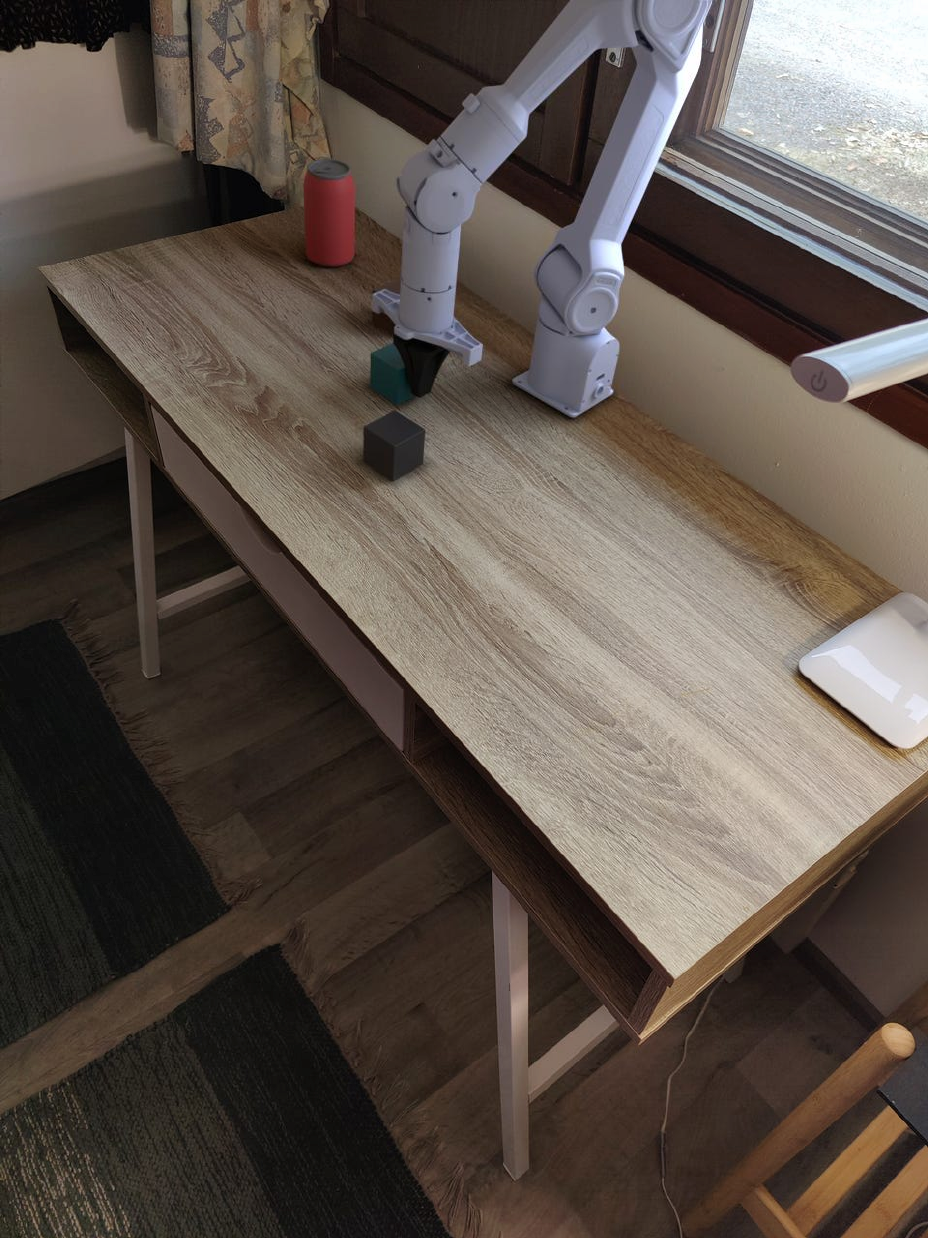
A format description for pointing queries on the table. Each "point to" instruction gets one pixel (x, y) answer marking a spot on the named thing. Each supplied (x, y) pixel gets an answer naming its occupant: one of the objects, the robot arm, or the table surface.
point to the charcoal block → (393, 445)
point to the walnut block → (382, 318)
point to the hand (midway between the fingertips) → (421, 392)
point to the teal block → (389, 374)
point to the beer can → (329, 213)
